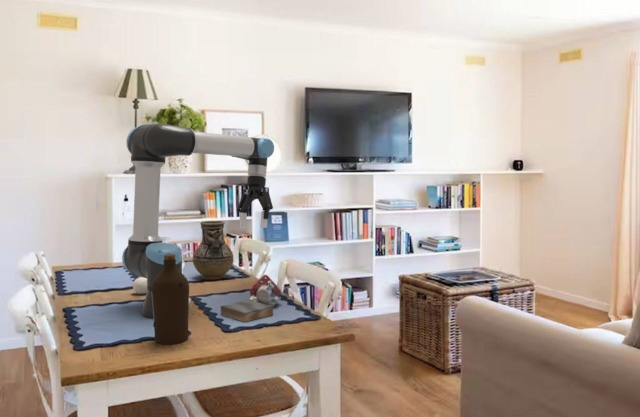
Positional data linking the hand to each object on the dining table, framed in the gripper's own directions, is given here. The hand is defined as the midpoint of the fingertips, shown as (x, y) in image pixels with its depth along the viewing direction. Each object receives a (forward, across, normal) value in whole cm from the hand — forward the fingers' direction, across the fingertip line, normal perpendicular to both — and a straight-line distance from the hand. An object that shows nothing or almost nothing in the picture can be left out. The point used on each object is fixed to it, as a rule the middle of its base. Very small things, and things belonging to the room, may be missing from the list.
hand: (252, 228), depth 235 cm
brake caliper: (+30, -22, +10) cm, 39 cm away
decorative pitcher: (+21, +32, -5) cm, 38 cm away
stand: (+33, -28, +22) cm, 49 cm away
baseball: (+29, +26, +32) cm, 50 cm away
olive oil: (+41, -33, +53) cm, 75 cm away
